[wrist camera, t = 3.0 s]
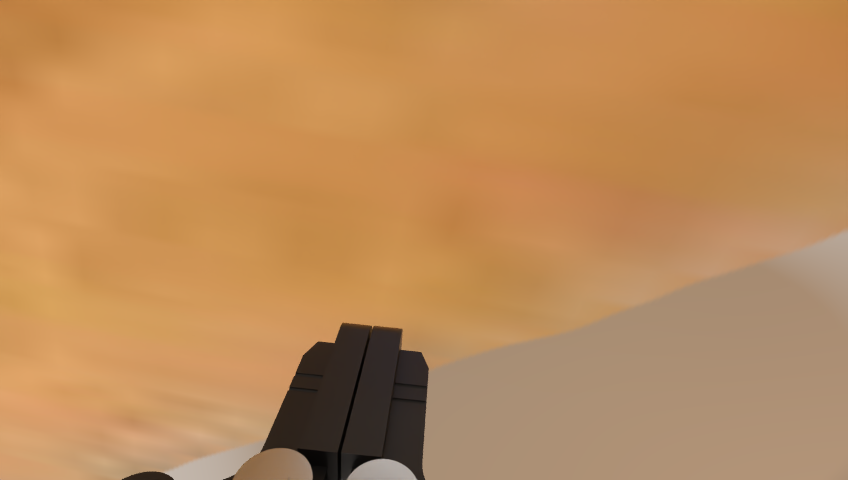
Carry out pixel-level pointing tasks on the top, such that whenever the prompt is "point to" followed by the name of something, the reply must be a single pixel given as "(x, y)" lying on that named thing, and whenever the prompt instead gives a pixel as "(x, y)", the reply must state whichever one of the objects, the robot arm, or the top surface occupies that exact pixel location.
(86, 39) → the top surface
